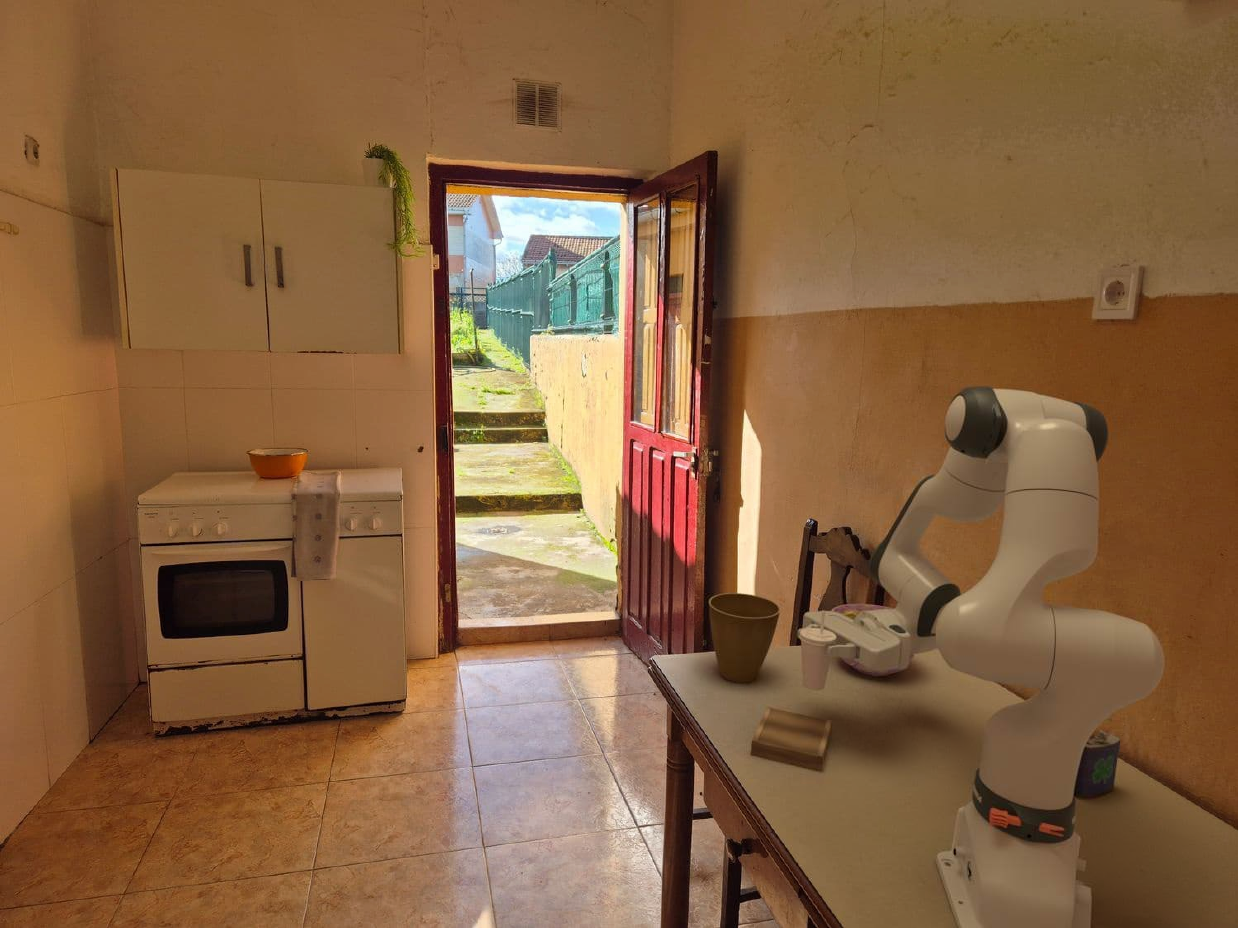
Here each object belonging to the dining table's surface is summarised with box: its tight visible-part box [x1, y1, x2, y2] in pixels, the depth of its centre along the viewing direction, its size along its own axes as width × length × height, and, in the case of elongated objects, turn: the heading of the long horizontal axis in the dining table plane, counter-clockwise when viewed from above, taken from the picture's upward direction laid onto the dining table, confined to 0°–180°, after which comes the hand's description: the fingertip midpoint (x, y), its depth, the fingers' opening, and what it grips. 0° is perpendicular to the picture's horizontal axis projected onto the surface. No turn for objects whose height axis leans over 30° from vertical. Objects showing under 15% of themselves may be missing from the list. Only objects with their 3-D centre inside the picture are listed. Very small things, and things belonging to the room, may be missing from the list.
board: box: [750, 706, 833, 772], centre depth 138 cm, size 14×12×3 cm
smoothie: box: [798, 610, 836, 691], centre depth 137 cm, size 6×6×14 cm
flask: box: [1073, 728, 1121, 800], centre depth 127 cm, size 9×3×11 cm, turn 114°
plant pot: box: [708, 592, 781, 684], centre depth 164 cm, size 15×15×16 cm
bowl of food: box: [831, 603, 915, 677], centre depth 172 cm, size 20×20×12 cm
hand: (813, 642), depth 137 cm, fingers closed on smoothie, 6 cm apart
